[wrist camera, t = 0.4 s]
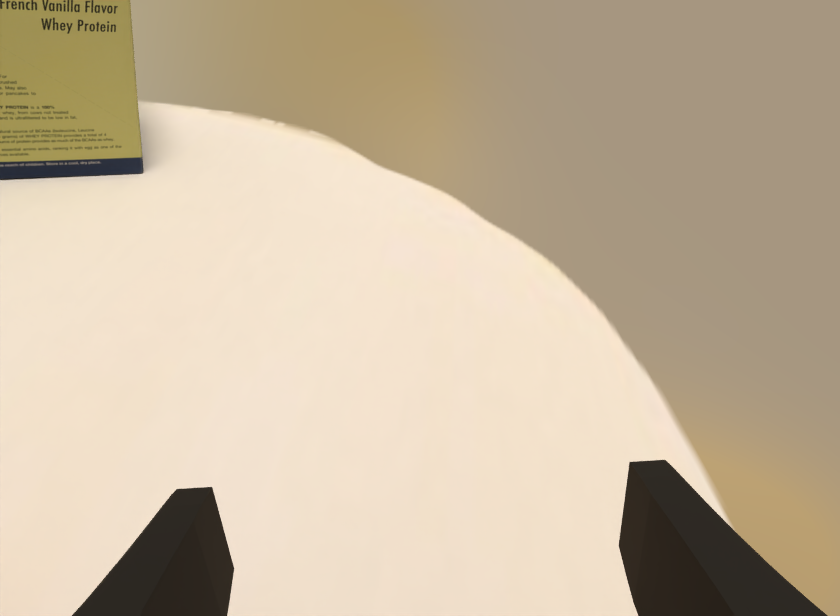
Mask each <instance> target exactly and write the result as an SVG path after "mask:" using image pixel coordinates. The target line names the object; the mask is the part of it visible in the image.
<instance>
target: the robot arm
mask: <svg viewBox="0 0 840 616" xmlns="http://www.w3.org/2000/svg"><path fill="white" fill-rule="evenodd" d="M619 548H620V552H621V556H622V560H623V564H624V568H625V572H626V576H627V580H628V584H629V587H630V591H631V595H632V598H633V602H634V605H635V607H636V610H637V613H638V616H827V615H826V614H825V613H824V612H823V611H821V610H820V609H819V608H818V607H816V606H815V605H814V604H813V603H812V602H811V601H810V600H808V599H807V598H806V597H805V596H804V595H803V594H802V593H800V592H799V591H798V590H797V589H796V588H795V587H794V586H792V585H791V584H790V583H789V582H788V581H787V580H786V579H784V578H783V577H782V576H781V575H780V574H779V573H778V572H777V571H776V570H775V569H774V568H773V567H772V566H770V565H769V564H768V563H767V562H766V561H765V560H764V559H763V558H762V557H761V556H760V555H759V554H758V553H757V552H755V550H754V549H753V548H751V546H749V545H748V544H747V543H746V542H745V541H744V540H743V539H742V538H741V537H740V536H739V535H738V534H737V533H736V532H735V531H734V530H733V529H732V528H731V527H730V526H729V525H728V524H727V523H726V522H725V521H724V520H723V519H722V518H721V517H720V516H719V515H718V514H717V513H716V512H715V511H714V510H713V509H712V508H711V507H710V506H709V505H708V504H707V503H706V502H705V501H704V499H703V498H702V497H701V496H700V495H699V494H698V493H697V492H696V491H695V490H694V489H693V488H692V487H691V486H690V485H689V484H688V483H687V482H686V481H685V480H684V478H683V477H682V476H681V475H680V474H679V473H678V472H677V471H676V470H675V469H674V468H673V467H672V466H671V465H670V464H669V463H668V462H667V461H666V460H656V461H639V462H630V464H629V471H628V479H627V487H626V494H625V502H624V510H623V517H622V525H621V533H620V540H619ZM233 572H234V567H233V563H232V559H231V555H230V552H229V548H228V544H227V541H226V537H225V533H224V530H223V526H222V522H221V518H220V515H219V511H218V507H217V504H216V500H215V496H214V492H213V489H212V487H205V488H188V489H177V490H176V491H175V492H174V493H173V494H172V495H171V496H170V497H169V499H168V500H167V501H166V502H165V504H164V505H163V506H162V507H161V509H160V510H159V511H158V512H157V514H156V515H155V516H154V518H153V519H152V520H151V521H150V523H149V524H148V525H147V526H146V528H145V529H144V530H143V532H142V533H141V534H140V535H139V537H138V538H137V539H136V540H135V542H134V543H133V544H132V545H131V547H130V548H129V549H128V550H127V552H126V553H125V554H124V555H123V557H122V558H121V559H120V560H119V561H118V563H117V564H116V565H115V566H114V567H113V569H112V570H111V571H110V572H109V573H108V575H107V576H106V577H105V578H104V579H103V580H102V582H101V583H100V584H99V585H98V586H97V588H96V589H95V590H94V591H93V592H92V594H91V595H90V596H89V597H88V598H87V599H86V601H85V602H84V603H83V604H82V605H81V606H80V607H79V608H78V609H77V611H76V612H75V613H74V614H73V615H72V616H227V613H228V607H229V600H230V593H231V586H232V579H233Z"/></svg>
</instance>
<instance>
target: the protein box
mask: <svg viewBox="0 0 840 616" xmlns="http://www.w3.org/2000/svg"><path fill="white" fill-rule="evenodd" d="M135 75H136V74H135V62H134V48H133V35H132V22H131V7H130V0H0V179H11V178H36V177H64V176H91V175H114V174H140V173H143V160H142V148H141V136H140V126H139V113H138V101H137V89H136V76H135Z"/></svg>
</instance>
